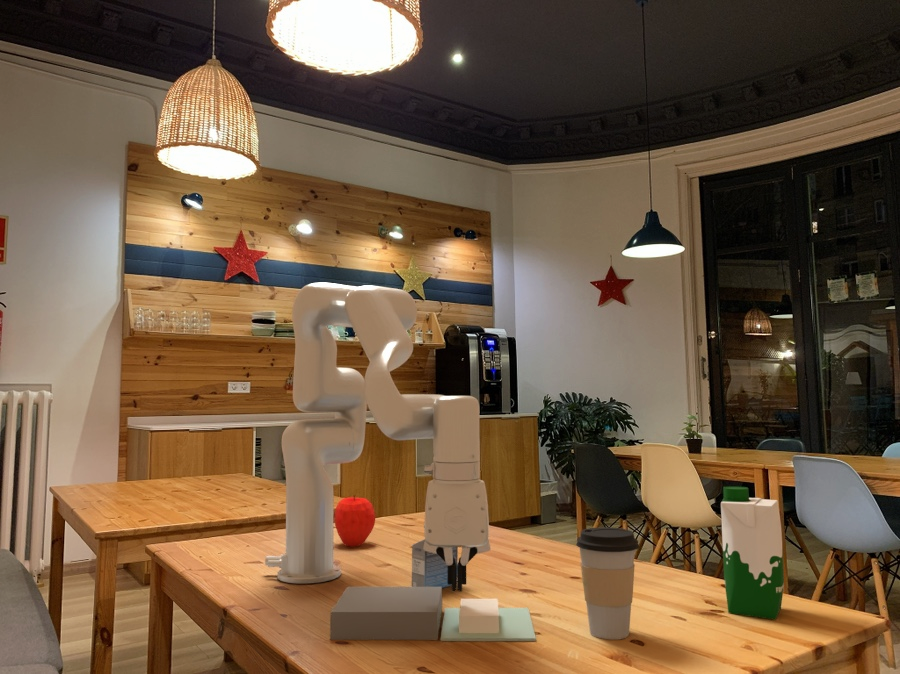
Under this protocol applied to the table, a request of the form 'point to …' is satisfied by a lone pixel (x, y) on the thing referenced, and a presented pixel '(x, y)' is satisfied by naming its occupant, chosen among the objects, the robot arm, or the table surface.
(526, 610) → the mat
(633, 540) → the coffee cup
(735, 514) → the milk carton
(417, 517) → the table surface
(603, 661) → the table surface
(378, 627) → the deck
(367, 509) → the apple
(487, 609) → the tile
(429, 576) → the label tape box
